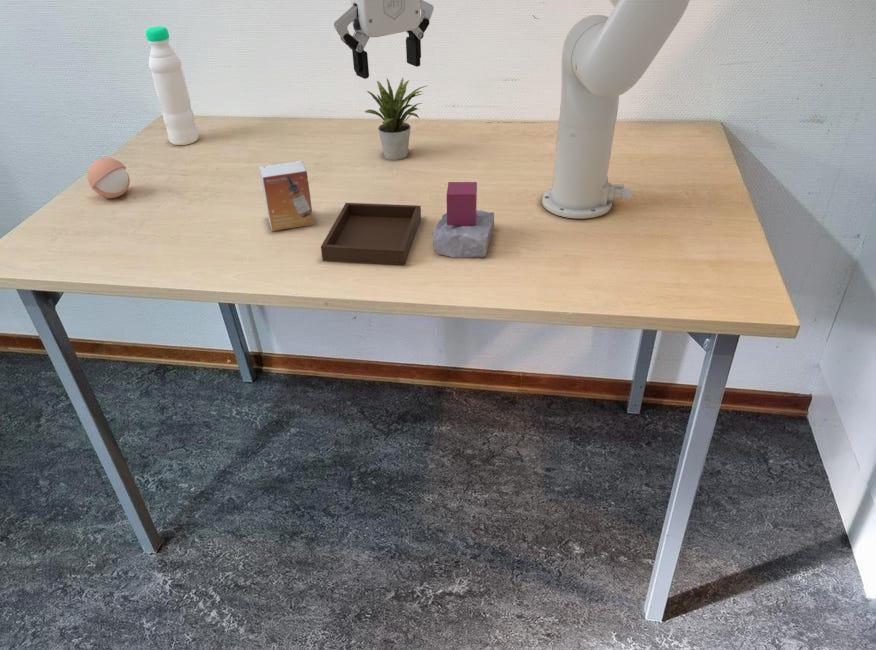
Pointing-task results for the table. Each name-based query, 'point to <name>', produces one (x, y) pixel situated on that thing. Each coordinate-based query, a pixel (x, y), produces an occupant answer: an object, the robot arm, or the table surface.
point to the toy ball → (108, 177)
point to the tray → (372, 234)
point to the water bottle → (171, 88)
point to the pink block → (461, 203)
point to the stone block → (464, 236)
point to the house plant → (394, 120)
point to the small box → (287, 195)
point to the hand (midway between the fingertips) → (388, 70)
